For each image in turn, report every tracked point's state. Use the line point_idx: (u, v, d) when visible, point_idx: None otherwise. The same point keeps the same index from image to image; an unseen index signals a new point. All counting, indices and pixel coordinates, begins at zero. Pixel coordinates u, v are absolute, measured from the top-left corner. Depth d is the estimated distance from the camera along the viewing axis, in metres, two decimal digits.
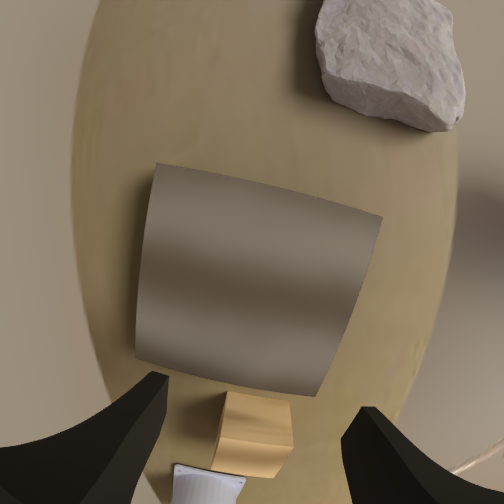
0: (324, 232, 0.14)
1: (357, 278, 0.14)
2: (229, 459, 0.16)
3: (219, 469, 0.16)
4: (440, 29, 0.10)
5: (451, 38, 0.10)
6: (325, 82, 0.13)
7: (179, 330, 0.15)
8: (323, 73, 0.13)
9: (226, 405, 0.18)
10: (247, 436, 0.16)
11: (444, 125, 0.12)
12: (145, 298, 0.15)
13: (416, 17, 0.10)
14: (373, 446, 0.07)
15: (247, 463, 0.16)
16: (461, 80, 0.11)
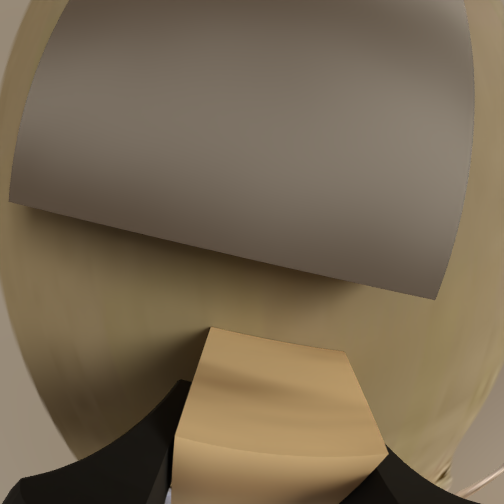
0: None
1: (459, 18, 0.04)
2: (210, 496, 0.05)
3: None
4: None
5: None
6: None
7: (94, 91, 0.05)
8: None
9: (204, 355, 0.08)
10: (261, 437, 0.05)
11: None
12: (53, 50, 0.05)
13: None
14: None
15: (256, 502, 0.05)
16: None
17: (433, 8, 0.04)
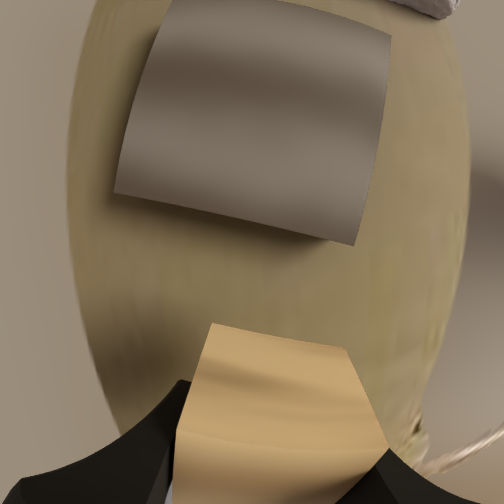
0: (337, 36, 0.10)
1: (380, 81, 0.11)
2: (211, 491, 0.05)
3: None
4: None
5: None
6: None
7: (175, 137, 0.12)
8: None
9: (205, 350, 0.08)
10: (262, 430, 0.05)
11: (447, 3, 0.09)
12: (141, 104, 0.11)
13: None
14: None
15: (258, 498, 0.05)
16: None
17: (361, 79, 0.11)
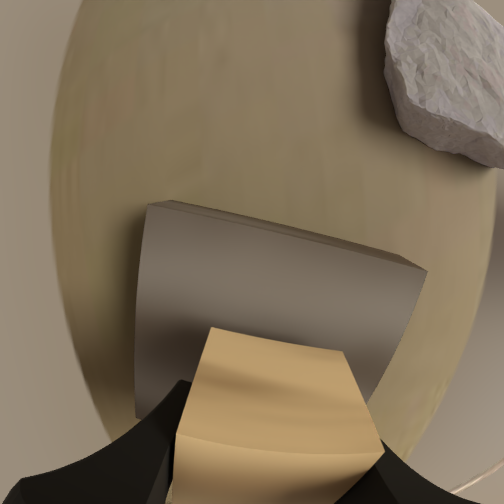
0: (361, 293, 0.11)
1: (393, 341, 0.11)
2: (211, 493, 0.05)
3: None
4: None
5: None
6: (402, 111, 0.10)
7: None
8: (401, 100, 0.10)
9: (204, 354, 0.08)
10: (260, 435, 0.05)
11: None
12: (143, 363, 0.12)
13: (485, 39, 0.07)
14: None
15: (256, 500, 0.06)
16: None
17: (373, 344, 0.11)
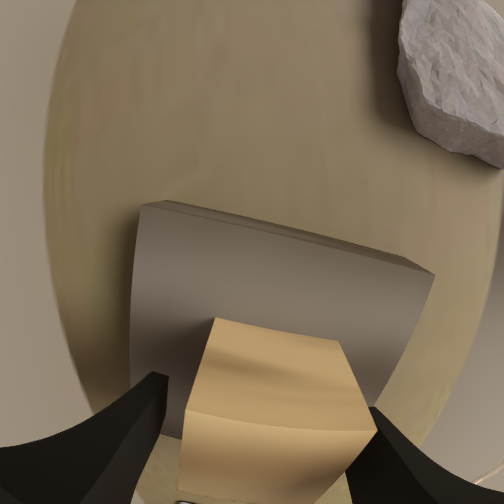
0: (366, 298, 0.10)
1: (398, 347, 0.11)
2: (215, 472, 0.06)
3: (196, 490, 0.07)
4: None
5: None
6: (417, 111, 0.10)
7: (182, 405, 0.12)
8: (417, 100, 0.09)
9: (210, 341, 0.09)
10: (261, 411, 0.06)
11: None
12: (139, 370, 0.11)
13: (496, 39, 0.07)
14: (373, 446, 0.07)
15: (257, 480, 0.06)
16: None
17: (378, 351, 0.11)
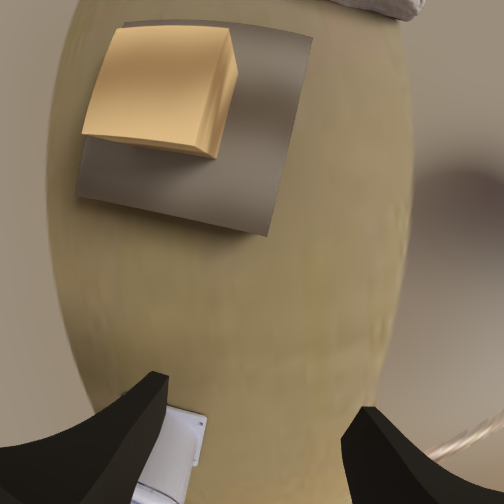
0: (256, 46, 0.12)
1: (294, 84, 0.13)
2: (116, 84, 0.08)
3: (95, 124, 0.09)
4: None
5: None
6: None
7: (119, 150, 0.14)
8: None
9: None
10: (156, 30, 0.08)
11: (411, 4, 0.11)
12: None
13: None
14: (373, 446, 0.07)
15: (144, 86, 0.08)
16: None
17: (275, 84, 0.13)
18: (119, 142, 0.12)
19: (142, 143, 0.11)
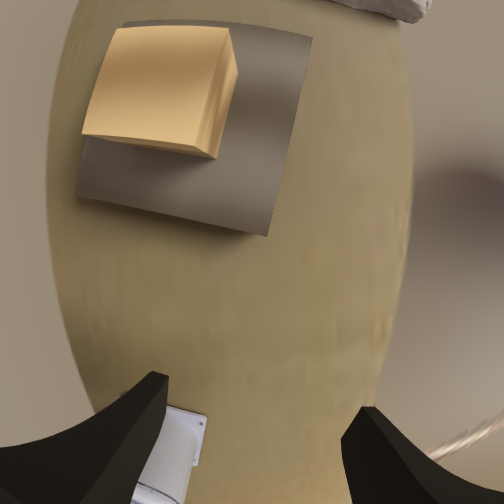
0: (255, 46, 0.12)
1: (294, 84, 0.13)
2: (116, 84, 0.08)
3: (95, 125, 0.09)
4: None
5: None
6: None
7: (118, 150, 0.14)
8: None
9: None
10: (156, 30, 0.08)
11: (417, 7, 0.11)
12: None
13: None
14: (373, 446, 0.07)
15: (143, 86, 0.08)
16: None
17: (275, 84, 0.13)
18: (119, 142, 0.12)
19: (142, 143, 0.11)
